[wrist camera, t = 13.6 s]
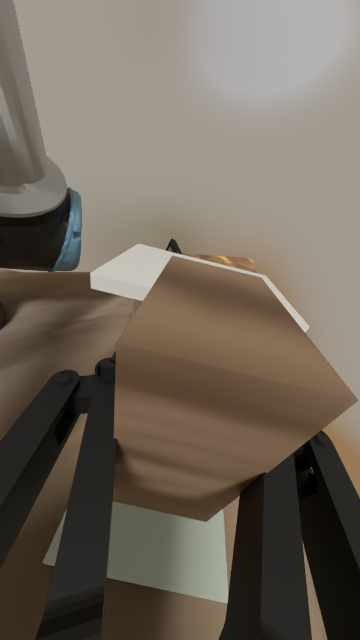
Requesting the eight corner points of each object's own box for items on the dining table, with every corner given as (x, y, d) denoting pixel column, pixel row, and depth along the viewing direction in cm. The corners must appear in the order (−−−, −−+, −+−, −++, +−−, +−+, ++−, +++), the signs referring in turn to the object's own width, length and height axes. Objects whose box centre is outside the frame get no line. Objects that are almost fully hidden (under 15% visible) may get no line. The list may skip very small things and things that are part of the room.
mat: (225, 602, 14) (228, 603, 14) (44, 564, 14) (42, 563, 13) (215, 421, 26) (217, 418, 25) (118, 398, 26) (118, 394, 25)
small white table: (236, 425, 26) (309, 326, 16) (97, 393, 26) (89, 272, 16) (226, 354, 38) (264, 274, 29) (131, 331, 38) (139, 243, 28)
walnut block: (206, 521, 11) (358, 400, 4) (111, 501, 11) (116, 342, 4) (205, 395, 19) (261, 277, 12) (149, 382, 19) (172, 255, 12)
